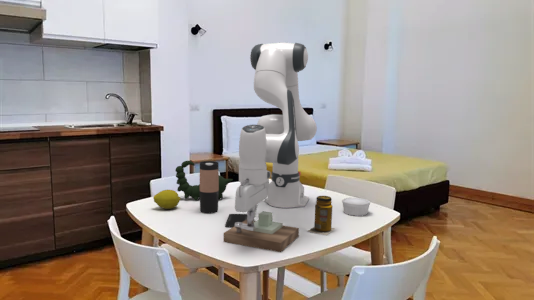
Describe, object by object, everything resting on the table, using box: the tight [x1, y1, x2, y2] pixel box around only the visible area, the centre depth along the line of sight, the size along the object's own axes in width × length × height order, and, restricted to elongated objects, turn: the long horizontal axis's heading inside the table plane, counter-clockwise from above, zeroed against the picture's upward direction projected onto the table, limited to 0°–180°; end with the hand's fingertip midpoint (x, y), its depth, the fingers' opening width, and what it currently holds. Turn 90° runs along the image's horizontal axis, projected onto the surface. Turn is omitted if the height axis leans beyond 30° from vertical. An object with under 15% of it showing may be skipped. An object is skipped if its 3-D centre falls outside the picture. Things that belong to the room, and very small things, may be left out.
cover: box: [250, 210, 284, 234], centre depth 140 cm, size 9×9×5 cm
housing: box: [223, 220, 300, 253], centre depth 138 cm, size 16×20×4 cm
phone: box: [224, 213, 247, 229], centre depth 157 cm, size 8×1×15 cm
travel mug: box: [199, 160, 220, 215], centre depth 168 cm, size 8×8×20 cm
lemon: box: [153, 189, 182, 210], centre depth 171 cm, size 11×8×8 cm
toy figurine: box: [174, 160, 234, 201], centre depth 188 cm, size 9×19×25 cm
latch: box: [235, 211, 256, 231], centre depth 134 cm, size 7×3×6 cm, turn 59°
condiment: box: [307, 195, 336, 236], centre depth 147 cm, size 7×8×12 cm
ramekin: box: [341, 197, 371, 217], centre depth 171 cm, size 11×11×5 cm
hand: (252, 218), depth 135 cm, fingers closed
